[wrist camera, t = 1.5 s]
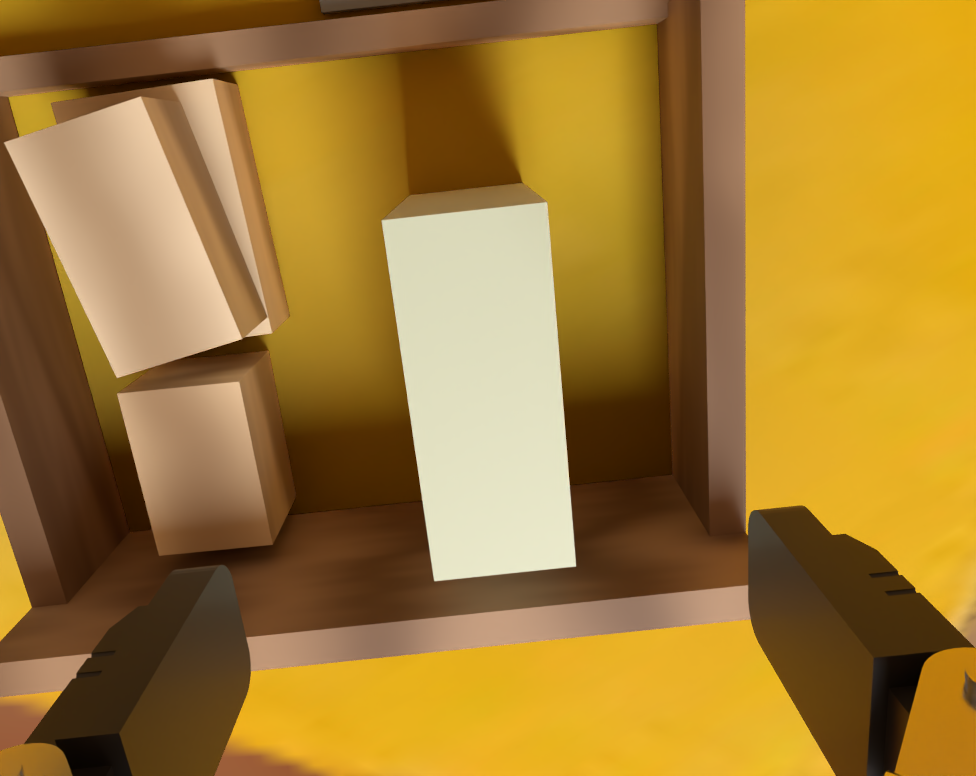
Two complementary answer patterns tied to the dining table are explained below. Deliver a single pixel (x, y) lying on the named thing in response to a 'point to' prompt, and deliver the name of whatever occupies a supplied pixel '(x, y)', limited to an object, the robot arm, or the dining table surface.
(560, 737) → the dining table surface
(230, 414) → the offcut
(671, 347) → the tray
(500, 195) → the block
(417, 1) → the mat
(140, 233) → the offcut
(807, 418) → the dining table surface
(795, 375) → the dining table surface
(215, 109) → the offcut
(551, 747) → the dining table surface
